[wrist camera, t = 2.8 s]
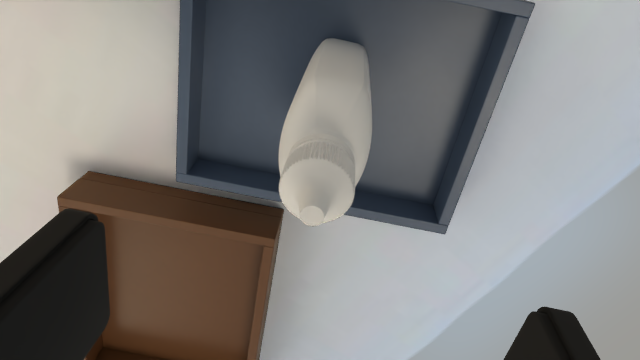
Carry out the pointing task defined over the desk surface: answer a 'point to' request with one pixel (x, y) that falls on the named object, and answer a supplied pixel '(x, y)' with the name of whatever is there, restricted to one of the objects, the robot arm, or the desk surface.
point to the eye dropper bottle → (327, 134)
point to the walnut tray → (180, 270)
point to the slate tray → (385, 83)
